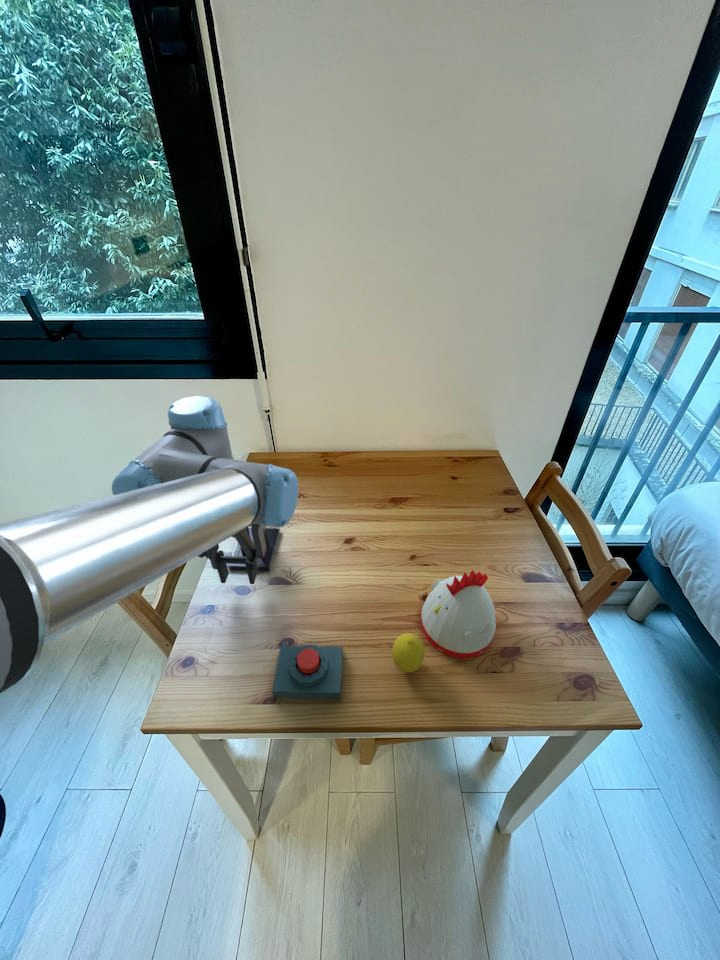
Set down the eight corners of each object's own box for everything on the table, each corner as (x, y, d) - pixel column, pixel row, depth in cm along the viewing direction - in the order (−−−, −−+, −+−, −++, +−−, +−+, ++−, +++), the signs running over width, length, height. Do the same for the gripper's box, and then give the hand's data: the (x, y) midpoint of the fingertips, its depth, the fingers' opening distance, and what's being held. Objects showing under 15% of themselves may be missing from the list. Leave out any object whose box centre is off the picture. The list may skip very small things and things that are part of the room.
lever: (247, 566, 78) (244, 560, 77) (221, 566, 78) (218, 559, 77) (261, 509, 88) (259, 502, 86) (238, 508, 88) (236, 501, 86)
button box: (274, 697, 67) (271, 686, 65) (282, 652, 74) (279, 640, 71) (340, 699, 67) (340, 687, 65) (342, 653, 74) (342, 641, 71)
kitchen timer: (408, 606, 82) (415, 555, 73) (467, 586, 86) (480, 535, 77) (443, 669, 72) (457, 618, 63) (508, 643, 76) (529, 592, 67)
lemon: (428, 669, 72) (434, 644, 67) (404, 686, 69) (407, 662, 64) (408, 644, 75) (412, 619, 70) (384, 660, 73) (386, 635, 68)
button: (296, 674, 67) (295, 668, 66) (299, 653, 70) (298, 647, 69) (318, 674, 67) (317, 669, 66) (320, 653, 70) (319, 648, 69)
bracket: (269, 571, 89) (261, 524, 80) (228, 569, 89) (216, 523, 80) (280, 532, 98) (273, 487, 90) (243, 530, 98) (233, 485, 90)
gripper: (274, 475, 70) (287, 565, 85) (170, 472, 71) (201, 562, 85) (265, 504, 64) (280, 595, 79) (151, 501, 65) (188, 592, 79)
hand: (239, 578), depth 82 cm, fingers closed on lever, 5 cm apart
